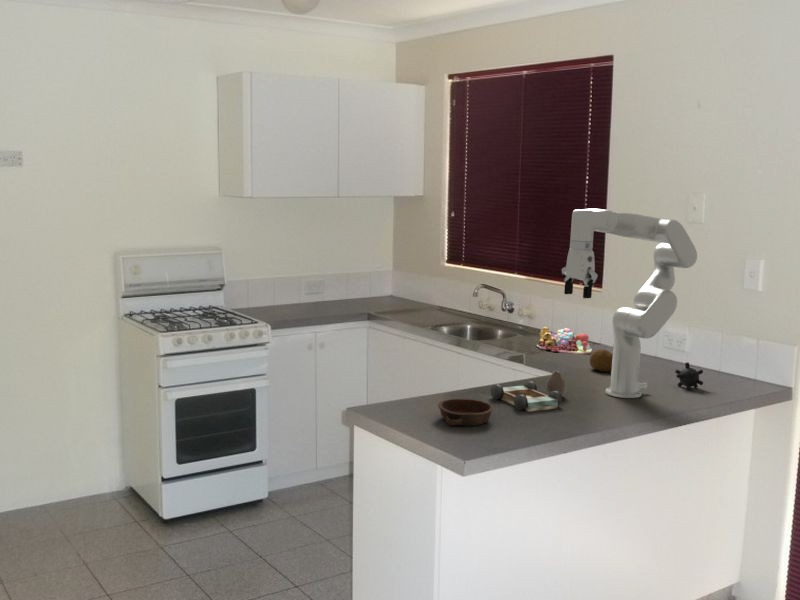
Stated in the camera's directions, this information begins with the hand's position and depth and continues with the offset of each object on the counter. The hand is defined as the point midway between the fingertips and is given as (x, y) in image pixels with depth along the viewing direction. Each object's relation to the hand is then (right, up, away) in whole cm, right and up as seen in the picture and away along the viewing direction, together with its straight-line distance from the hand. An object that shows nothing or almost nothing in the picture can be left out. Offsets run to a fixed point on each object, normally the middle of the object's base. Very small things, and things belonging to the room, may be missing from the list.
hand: (577, 296), depth 297 cm
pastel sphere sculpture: (+13, -24, +97) cm, 101 cm away
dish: (-40, -40, -24) cm, 61 cm away
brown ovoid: (-6, -36, +10) cm, 37 cm away
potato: (+21, -30, +53) cm, 64 cm away
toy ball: (+48, -35, +30) cm, 66 cm away
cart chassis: (-18, -36, 0) cm, 40 cm away
